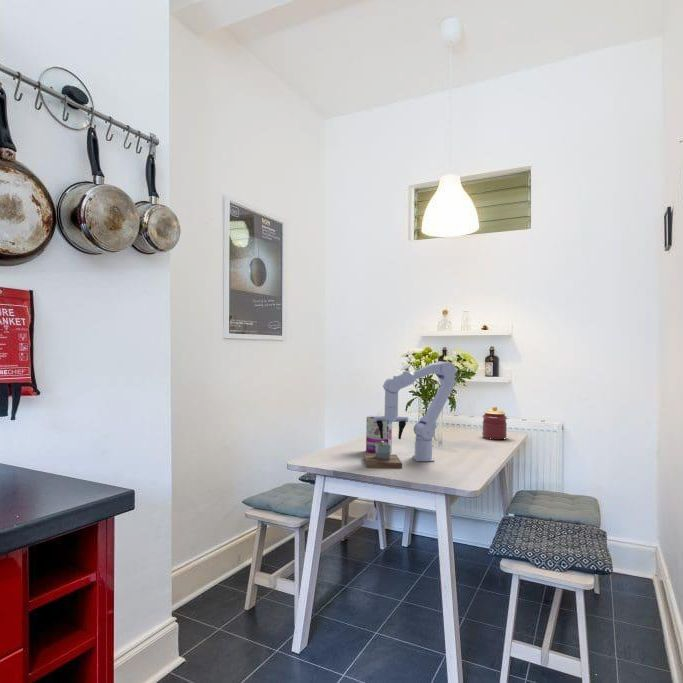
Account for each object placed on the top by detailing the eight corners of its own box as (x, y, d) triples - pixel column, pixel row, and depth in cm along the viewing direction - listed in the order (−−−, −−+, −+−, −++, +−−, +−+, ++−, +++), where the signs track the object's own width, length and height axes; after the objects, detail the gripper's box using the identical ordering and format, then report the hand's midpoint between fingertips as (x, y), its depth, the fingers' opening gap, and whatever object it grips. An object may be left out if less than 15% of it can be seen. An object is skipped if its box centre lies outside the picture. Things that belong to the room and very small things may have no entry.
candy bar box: (392, 452, 225) (392, 417, 225) (387, 454, 221) (388, 418, 221) (369, 449, 230) (370, 415, 230) (365, 451, 226) (366, 416, 226)
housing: (377, 460, 200) (377, 444, 200) (375, 456, 208) (375, 440, 208) (389, 460, 200) (389, 444, 200) (387, 456, 208) (387, 440, 208)
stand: (363, 458, 211) (364, 454, 211) (396, 459, 212) (396, 454, 212) (367, 467, 195) (367, 462, 195) (402, 468, 196) (402, 463, 196)
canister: (479, 435, 276) (480, 404, 277) (502, 436, 276) (503, 405, 276) (485, 440, 264) (486, 407, 264) (509, 440, 263) (510, 408, 263)
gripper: (375, 407, 205) (374, 440, 204) (409, 408, 205) (409, 440, 205) (373, 405, 212) (373, 437, 211) (406, 406, 212) (406, 437, 212)
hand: (390, 438), depth 209 cm, fingers open, 7 cm apart
